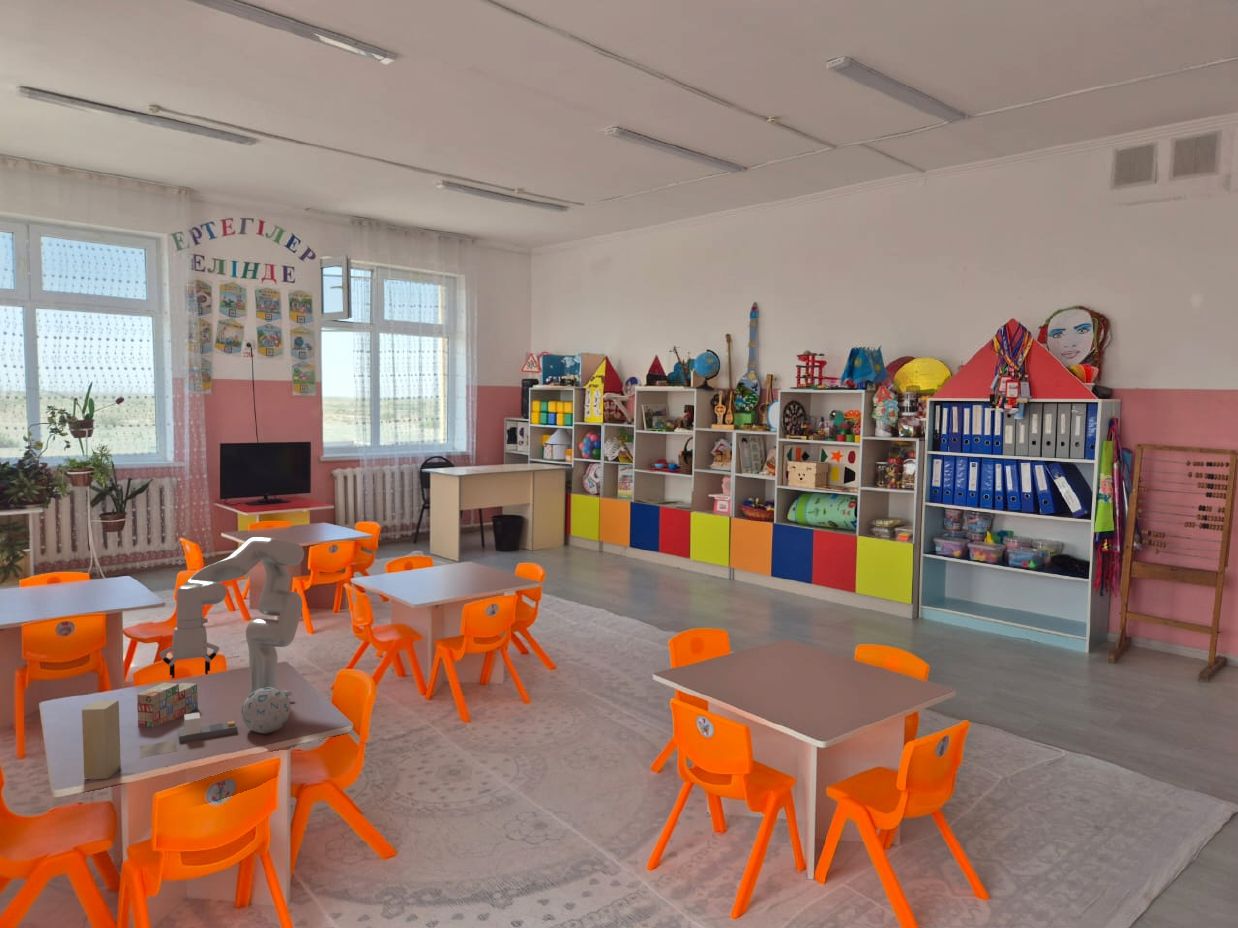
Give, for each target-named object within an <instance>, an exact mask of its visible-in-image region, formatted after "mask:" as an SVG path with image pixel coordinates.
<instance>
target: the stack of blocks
mask: <svg viewBox="0 0 1238 928" xmlns="http://www.w3.org/2000/svg"><path fill="white" fill-rule="evenodd" d="M198 694H199V693H198V683H193V682H192V683H191V682H181V683H173V682H171V683H170V682H162V683H159V684H158V685H156V686H154V687H151V688H149V689H145V691H141V692H139V693H137V695H136V697H137V704H136V705H137V726H138V727H145V728H146V727H147V728H155V727H158V726H160V725H161V724H164V723H166V722H168V721H174V720H177V719H179V718H181V717H184V715H185V714H190V713H192V712H193V711H195V710H197V709H199V707H198V705H199V703H198V700H199V699H198V698H199V696H198Z"/></svg>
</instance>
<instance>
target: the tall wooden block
mask: <svg viewBox="0 0 1238 928" xmlns="http://www.w3.org/2000/svg"><path fill="white" fill-rule="evenodd" d="M119 703H120V702H119V700H118V699H115V700H112V699H111V700H109V699H108V700H95V701H94V702H91V704H89V705H87V706H86V707H85V708H83V709H82V710H81V720H82V721H81V723H82V749H83V776H84V777H83V779H84V778H85V779H84V780H86V778H87V779H90V780H108V779H109V778H111V777H112V776H113V775H114V774H115V773H117V772H118V771H119V770H120V769H121V767H122V763H121V761H122V759H121V733H120V731H121V730H120V728H121V727H120V704H119ZM111 775H112V776H111Z"/></svg>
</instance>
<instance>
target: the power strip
mask: <svg viewBox="0 0 1238 928" xmlns="http://www.w3.org/2000/svg"><path fill="white" fill-rule="evenodd" d="M236 723H237V722H236V720H231V721H227V722H220V723H214V724H209V725H202V726H201V733H197V734H191V735H185V730H184V728H183V729H178V730H177V733H178V734H177V735H178V743H187V742H192V741H197V740H205V739H210V738H215V737H221V736H227V735H233V734H238V725H237V724H236Z"/></svg>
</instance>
